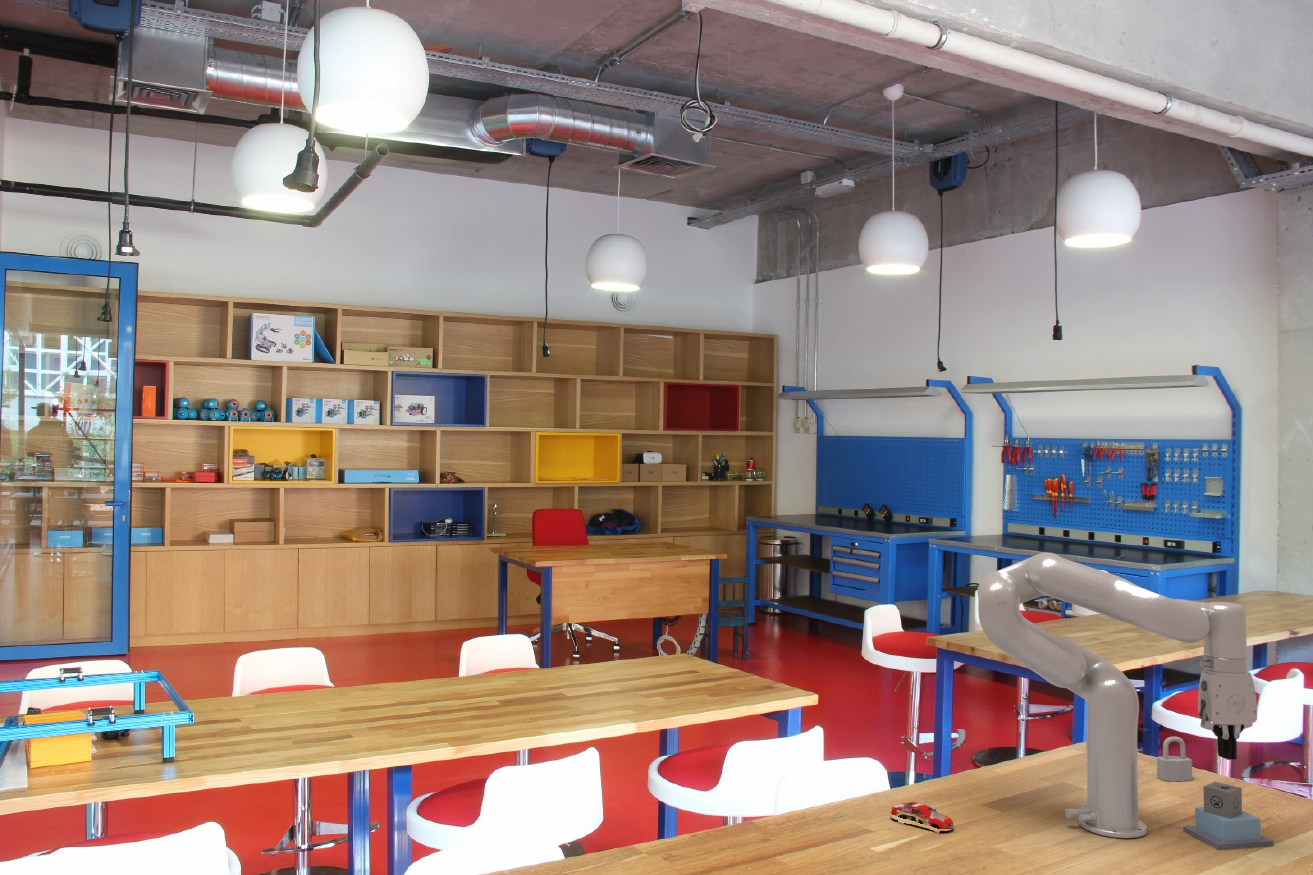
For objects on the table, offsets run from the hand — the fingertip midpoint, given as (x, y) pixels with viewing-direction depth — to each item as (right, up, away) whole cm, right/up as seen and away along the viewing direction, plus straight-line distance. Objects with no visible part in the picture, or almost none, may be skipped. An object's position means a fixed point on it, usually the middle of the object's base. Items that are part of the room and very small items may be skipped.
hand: (1227, 757), depth 201 cm
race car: (-59, -17, +8) cm, 61 cm away
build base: (0, -16, 0) cm, 16 cm away
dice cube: (-1, -11, 0) cm, 11 cm away
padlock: (+9, -17, +38) cm, 42 cm away
